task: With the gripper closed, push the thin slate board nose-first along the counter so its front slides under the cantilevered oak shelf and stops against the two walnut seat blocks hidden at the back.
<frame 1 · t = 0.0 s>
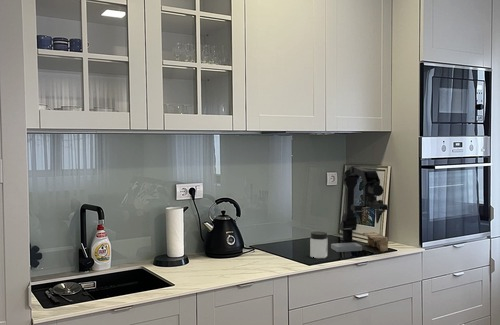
hand: (369, 223, 263), 15 cm above the worktop, fingers open, 9 cm apart
slate board: (346, 250, 268), on the worktop
jar: (318, 256, 252), on the worktop
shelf: (374, 248, 272), on the worktop
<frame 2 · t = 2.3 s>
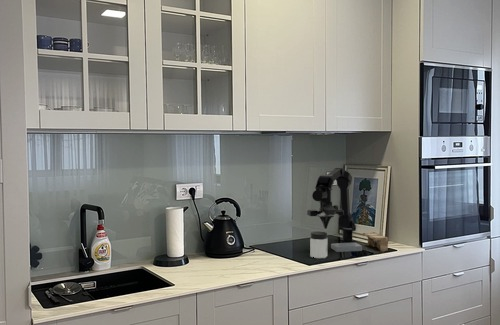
hand: (325, 228, 265), 12 cm above the worktop, fingers closed
nothing on the worktop moved.
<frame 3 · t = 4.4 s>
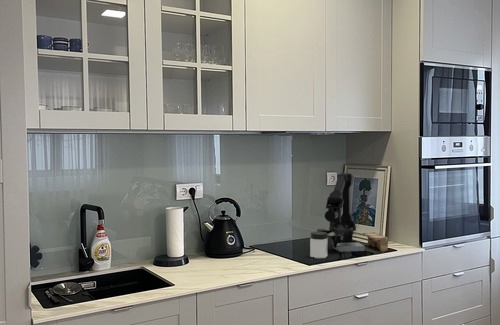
hand: (334, 247, 267), 1 cm above the worktop, fingers closed
slate board: (348, 250, 269), on the worktop, touching gripper
everything else where it was.
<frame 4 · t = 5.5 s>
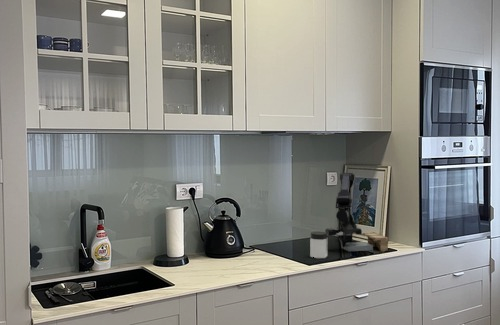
hand: (343, 247, 268), 1 cm above the worktop, fingers closed
slate board: (357, 249, 270), on the worktop
everything else where it was.
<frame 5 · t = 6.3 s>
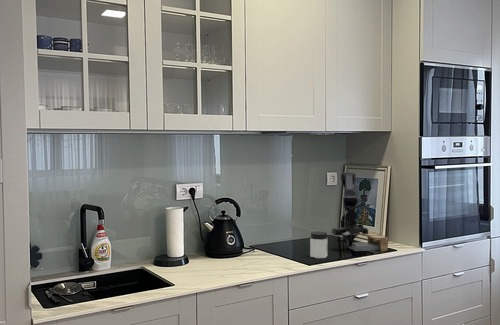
hand: (349, 247, 269), 1 cm above the worktop, fingers closed
slate board: (364, 249, 270), on the worktop, touching gripper
everything else where it was.
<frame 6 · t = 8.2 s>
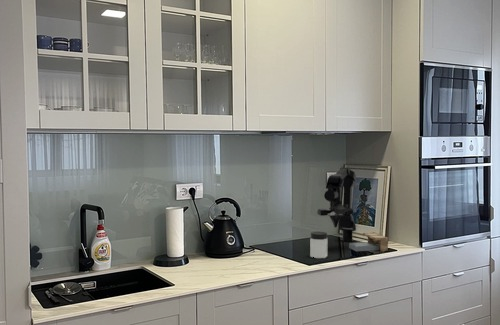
hand: (335, 227, 270), 12 cm above the worktop, fingers closed
slate board: (364, 249, 270), on the worktop
everything else where it was.
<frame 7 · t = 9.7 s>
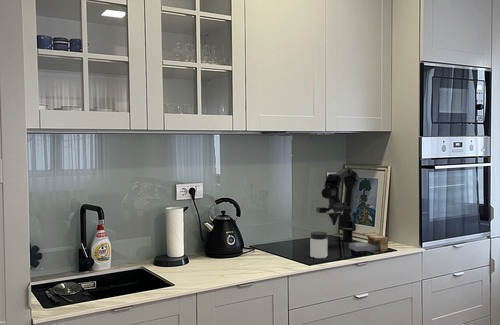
hand: (333, 225, 275), 12 cm above the worktop, fingers closed
nothing on the worktop moved.
at the end: slate board 1.1 cm from the target spot on the worktop beside the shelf, on the worktop; slate board tilted 0°; the gripper is holding nothing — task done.
